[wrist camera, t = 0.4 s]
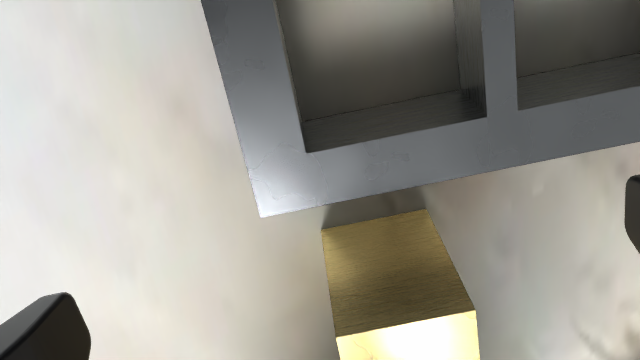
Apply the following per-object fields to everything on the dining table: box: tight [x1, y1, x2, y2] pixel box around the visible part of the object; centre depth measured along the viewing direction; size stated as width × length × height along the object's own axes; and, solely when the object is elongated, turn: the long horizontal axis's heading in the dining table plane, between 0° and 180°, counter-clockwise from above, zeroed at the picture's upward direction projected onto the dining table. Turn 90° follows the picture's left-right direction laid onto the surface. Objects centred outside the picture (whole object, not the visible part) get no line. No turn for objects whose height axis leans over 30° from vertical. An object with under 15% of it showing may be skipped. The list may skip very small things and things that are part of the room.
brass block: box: [321, 209, 480, 360], centre depth 22 cm, size 4×4×6 cm
